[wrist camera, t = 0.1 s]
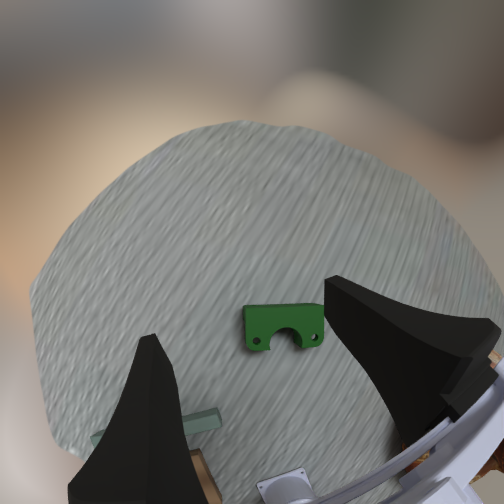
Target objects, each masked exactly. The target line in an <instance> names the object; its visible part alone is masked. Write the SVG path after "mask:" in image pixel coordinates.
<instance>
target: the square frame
mask: <svg viewBox="0 0 504 504" xmlns="http://www.w3.org/2000/svg"><path fill="white" fill-rule="evenodd" d="M189 452H190V455H191V458H192V461H193V464H194V467H195V470H196V473H197V476H198V478H199V481H200V483H201V486H202V488H203V491H204V493H205V496H206V498H207V500H208V502H209V504H222V495H221V493H220V491H219V489H218V487H217V485H216V483H215V481H214V479H213V477H212V475H211V473H210V471H209V468H208V466H207V464H206V462H205V460H204V457H203V455H202V453H201V451H200V449H196V450H191V451H189Z"/></svg>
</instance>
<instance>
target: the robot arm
mask: <svg viewBox="0 0 504 504" xmlns="http://www.w3.org/2000/svg"><path fill="white" fill-rule="evenodd" d="M324 316H325V318H326V319H327V321H328V323H329V324H330V326H331V328H332V329H333V331H334V332H335V334H336V335H337V336H338V338H339V339H340V340H341V341H342V343H343V344H344V345H345V346H346V347H347V349H348V350H349V351H350V352H351V354H352V355H353V356H354V357H355V358H356V360H357V361H358V362H359V363H360V365H361V366H362V367H363V368H364V370H365V371H366V373H367V374H368V375H369V377H370V379H371V380H372V382H373V383H374V385H375V387H376V388H377V390H378V392H379V393H380V395H381V397H382V399H383V400H384V402H385V404H386V406H387V408H388V410H389V412H390V414H391V416H392V418H393V420H394V422H395V424H396V426H397V428H398V431H399V433H400V435H401V438H402V440H403V443H404V444H405V446H406V447H407V449H406V450H404V451H403V452H401V453H400V454H398V455H397V456H395V457H394V458H392V459H391V460H389V461H388V462H386V463H384V464H383V465H381V466H380V467H378V468H376V469H375V470H373V471H371V472H370V473H368V474H366V475H364V476H362V477H361V478H359V479H357V480H355V481H353V482H351V483H349V484H347V485H346V486H344V487H342V488H339V489H337V490H335V491H333V492H331V493H329V494H327V495H325V496H322V497H317V496H316V494H315V493H314V492H313V490H312V488H311V485H310V483H309V480H308V478H307V475H306V472H305V470H304V468H302V467H301V468H298V469H295V470H293V471H290V472H287V473H285V474H282V475H279V476H276V477H273V478H270V479H267V480H264V481H261V482H258V483H257V487H258V489H259V491H260V494H261V496H262V498H263V500H264V502H265V504H346V503H348V502H349V501H351V500H353V499H355V498H357V497H359V496H361V495H363V494H365V493H366V492H368V491H370V490H372V489H373V488H375V487H377V486H378V485H380V484H382V483H383V482H385V481H387V480H388V479H390V478H391V477H393V476H394V475H396V474H397V473H399V472H400V471H402V470H403V469H405V468H406V467H408V466H409V465H410V464H412V463H413V462H414V461H416V460H417V459H419V458H420V457H421V456H423V455H424V454H425V453H426V452H428V451H429V450H430V449H431V450H430V452H429V457H428V458H427V459H426V460H425V461H423V462H422V463H421V464H419V465H418V466H417V467H415V468H414V469H413V470H411V471H410V472H409V473H407V474H406V475H404V476H403V477H401V478H400V479H399V482H400V484H401V485H402V487H403V488H402V489H400V490H399V491H397V492H396V493H394V494H393V495H391V496H389V497H388V498H386V499H384V500H383V501H381V502H379V503H378V504H484V503H483V502H482V501H481V499H480V498H479V497H478V495H477V494H476V492H475V491H474V490H473V488H472V487H471V486H470V484H469V482H470V481H471V480H472V479H473V477H474V476H475V475H476V474H477V473H478V472H479V470H480V469H481V468H482V467H483V465H484V464H485V463H486V462H487V460H488V459H489V458H490V456H491V455H492V454H493V452H494V451H495V450H496V448H497V447H498V445H499V444H500V442H501V441H502V440H503V438H504V356H503V357H502V358H501V360H500V361H499V362H498V363H497V364H496V366H495V367H494V368H492V367H491V366H490V365H491V363H492V360H491V359H490V358H489V357H488V356H489V354H490V353H491V351H492V350H493V348H494V346H495V345H496V343H497V341H498V339H499V337H500V335H501V329H500V328H499V327H498V326H497V325H496V324H495V323H494V322H492V321H491V320H490V319H489V318H466V317H457V316H450V315H444V314H439V313H434V312H430V311H425V310H422V309H418V308H415V307H412V306H409V305H406V304H403V303H400V302H397V301H395V300H392V299H390V298H387V297H385V296H382V295H380V294H378V293H376V292H373V291H371V290H369V289H367V288H365V287H362V286H360V285H358V284H356V283H354V282H352V281H349V280H347V279H345V278H343V277H340V276H338V275H335V276H333V277H330V278H327V279H325V286H324ZM302 471H303V473H301V472H302ZM260 486H262V487H261V488H260ZM68 501H69V504H209V502H208V500H207V498H206V496H205V493H204V491H203V488H202V486H201V483H200V481H199V478H198V476H197V473H196V470H195V467H194V464H193V461H192V458H191V455H190V452H189V449H188V446H187V442H186V438H185V433H184V427H183V421H182V415H181V408H180V401H179V394H178V387H177V383H176V379H175V375H174V371H173V367H172V364H171V362H170V361H169V359H168V357H167V355H166V353H165V351H164V350H163V348H162V346H161V344H160V342H159V340H158V338H157V336H156V334H151V335H147V336H143V337H141V338H140V340H139V343H138V347H137V350H136V353H135V357H134V360H133V363H132V366H131V369H130V372H129V375H128V378H127V381H126V384H125V387H124V389H123V392H122V394H121V397H120V400H119V402H118V405H117V407H116V409H115V412H114V414H113V416H112V418H111V420H110V422H109V424H108V426H107V428H106V430H105V432H104V434H103V436H102V437H101V439H100V441H99V443H98V444H97V446H96V447H95V449H94V451H93V452H92V454H91V455H90V457H89V458H88V460H87V461H86V463H85V464H84V465H83V467H82V468H81V470H80V471H79V472H78V473H77V474H76V476H75V477H74V478H73V479H72V480H71V482H70V483H69V484H68Z"/></svg>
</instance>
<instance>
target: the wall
mask: <svg viewBox="0 0 504 504" xmlns="http://www.w3.org/2000/svg"><path fill="white" fill-rule="evenodd" d="M182 421H183V427H184V433H185V436H187V435H191V434H195V433H200V432H204V431H208V430H212V429H215V428H219V427H222V418H221V416H220V413H219V410H218V408H213V409H209V410H206V411H202V412H198V413H194V414H190V415H186V416H182ZM104 432H105V430H101V431H100V432H98V433H96V434H94V435H92V436H91V437H90V439H91V441H92V444H93V446H94V449H95V447H96V446H97V444H98V443H99V441H100V439H101V437H102V436H103V434H104Z"/></svg>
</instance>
